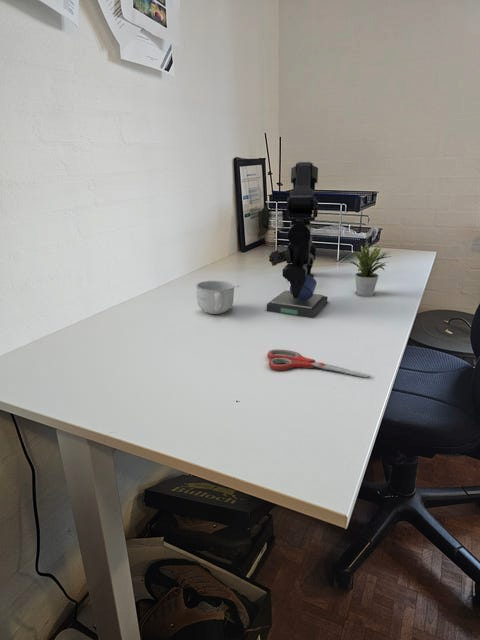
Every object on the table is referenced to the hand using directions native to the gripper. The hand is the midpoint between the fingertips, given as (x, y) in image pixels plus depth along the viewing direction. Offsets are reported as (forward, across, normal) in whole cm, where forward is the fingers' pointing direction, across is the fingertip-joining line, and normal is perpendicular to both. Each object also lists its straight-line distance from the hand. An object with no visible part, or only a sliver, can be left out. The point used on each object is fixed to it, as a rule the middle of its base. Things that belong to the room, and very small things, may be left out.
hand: (298, 293), depth 117 cm
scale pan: (+2, 0, 0) cm, 2 cm away
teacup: (+4, +11, -22) cm, 25 cm away
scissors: (+4, +36, +10) cm, 37 cm away
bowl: (-1, +3, +1) cm, 3 cm away
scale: (+4, 0, 0) cm, 4 cm away
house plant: (+4, -16, +19) cm, 25 cm away
